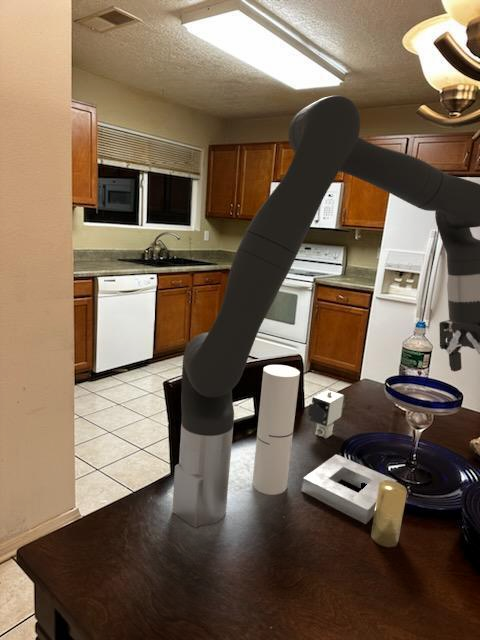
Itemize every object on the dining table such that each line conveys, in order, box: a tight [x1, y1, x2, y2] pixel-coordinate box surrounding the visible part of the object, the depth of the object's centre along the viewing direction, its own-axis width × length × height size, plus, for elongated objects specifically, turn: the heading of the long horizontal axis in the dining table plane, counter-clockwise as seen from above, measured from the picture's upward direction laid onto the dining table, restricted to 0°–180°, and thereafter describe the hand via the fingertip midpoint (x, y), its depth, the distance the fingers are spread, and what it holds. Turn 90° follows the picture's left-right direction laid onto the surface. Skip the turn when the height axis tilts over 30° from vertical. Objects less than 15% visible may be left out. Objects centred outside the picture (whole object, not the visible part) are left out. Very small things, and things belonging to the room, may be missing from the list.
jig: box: [301, 454, 397, 525], centre depth 91 cm, size 14×14×3 cm
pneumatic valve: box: [307, 389, 346, 439], centre depth 115 cm, size 6×12×12 cm, turn 141°
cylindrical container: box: [252, 364, 301, 496], centre depth 89 cm, size 7×7×25 cm
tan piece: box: [370, 480, 408, 548], centre depth 77 cm, size 5×5×10 cm
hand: (473, 375), depth 88 cm, fingers open, 8 cm apart
